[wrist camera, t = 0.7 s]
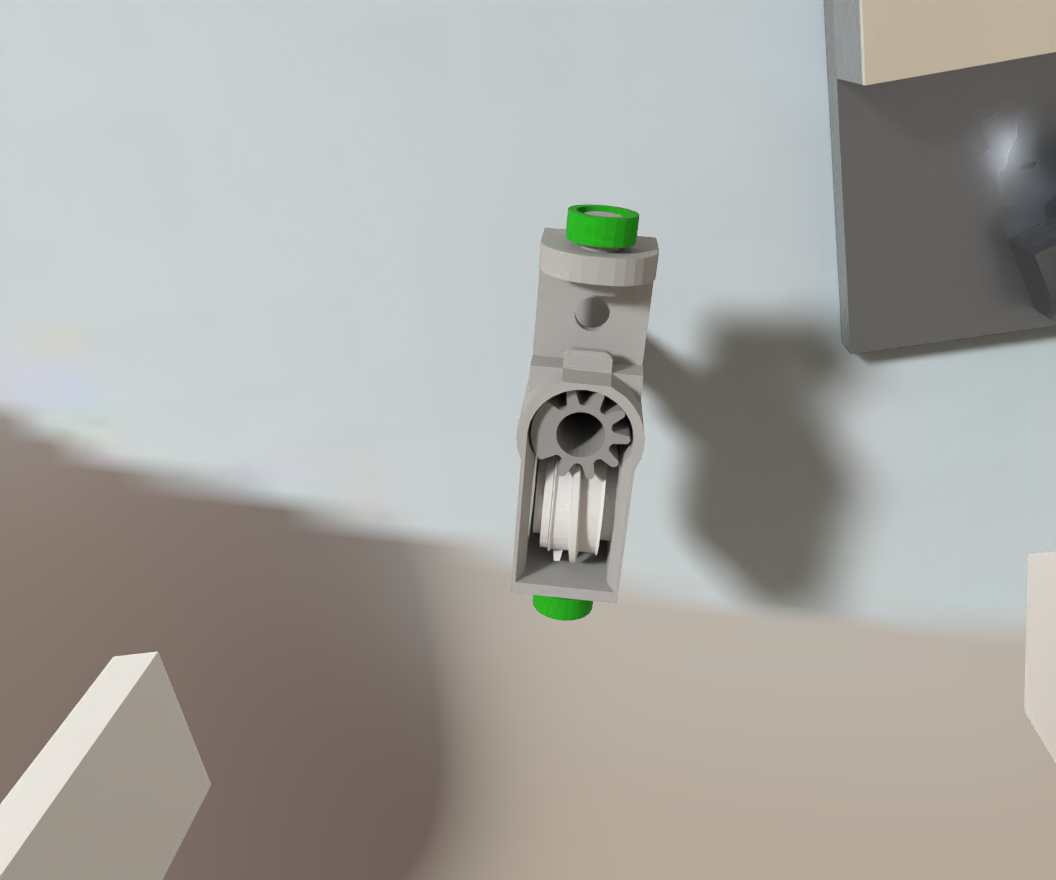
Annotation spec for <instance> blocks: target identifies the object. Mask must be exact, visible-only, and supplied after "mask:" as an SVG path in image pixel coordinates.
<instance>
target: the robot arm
mask: <svg viewBox="0 0 1056 880" xmlns="http://www.w3.org/2000/svg"><path fill="white" fill-rule="evenodd" d="M1024 711H1025V713H1026V715H1027V716H1028V718H1029V720H1030V721H1031V723H1032V725H1033V726H1034V728H1035V730H1036V731H1037V733H1038V735H1039V736H1040V738H1041V740H1042V741H1043V743H1044V745H1045V746H1046V748H1047V750H1048V751H1049V753H1050V755H1051V756H1052V758H1053V760H1054V762H1055V763H1056V551H1051V552H1042V553H1033V554H1028V580H1027V621H1026V662H1025V704H1024ZM210 786H211V783H210V781H209V778H208V776H207V773H206V771H205V768H204V766H203V763H202V761H201V758H200V756H199V753H198V751H197V748H196V746H195V743H194V741H193V738H192V736H191V733H190V731H189V728H188V726H187V723H186V721H185V718H184V716H183V713H182V711H181V708H180V706H179V703H178V701H177V698H176V696H175V693H174V691H173V688H172V686H171V683H170V681H169V678H168V675H167V673H166V671H165V668H164V666H163V663H162V660H161V658H160V656H159V653H158V652H151V653H143V654H133V655H125V656H115V657H113V658H112V659H111V661H110V662H109V663H108V665H107V666H106V667H105V669H104V670H103V671H102V672H101V674H100V675H99V676H98V678H97V679H96V680H95V682H94V683H93V685H92V686H91V687H90V688H89V690H88V691H87V692H86V694H85V695H84V696H83V697H82V699H81V700H80V701H79V703H78V704H77V705H76V706H75V708H74V709H73V710H72V712H71V713H70V714H69V716H68V717H67V718H66V719H65V721H64V722H63V723H62V725H61V726H60V727H59V729H58V730H57V731H56V732H55V734H54V735H53V736H52V738H51V739H50V740H49V742H48V743H47V744H46V745H45V747H44V748H43V749H42V751H41V752H40V753H39V755H38V756H37V757H36V759H35V760H34V761H33V763H32V764H31V765H30V766H29V768H28V769H27V770H26V772H25V773H24V774H23V775H22V777H21V778H20V779H19V781H18V782H17V783H16V785H15V786H14V787H13V788H12V790H11V791H10V792H9V794H8V795H7V796H6V798H5V799H4V800H3V802H2V803H1V804H0V880H163V878H164V875H165V874H166V871H167V869H168V868H169V866H170V864H171V862H172V860H173V858H174V856H175V854H176V852H177V850H178V848H179V846H180V844H181V843H182V840H183V838H184V837H185V835H186V833H187V831H188V829H189V827H190V825H191V823H192V821H193V819H194V817H195V815H196V813H197V811H198V809H199V807H200V805H201V804H202V801H203V800H204V798H205V796H206V794H207V792H208V790H209V788H210Z"/></svg>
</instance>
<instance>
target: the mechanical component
mask: <svg viewBox="0 0 1056 880" xmlns="http://www.w3.org/2000/svg"><path fill="white" fill-rule="evenodd" d="M638 221H639V214H638V213H637V212H635V211H632V210H629V209H625V208H620V207H614V206H605V205H575V206H571V207H569V208H568V216H567V227H566V230H564V229H553V228H545V229H544V233H543V236H542V239H541V249H540V262H539V269H540V274H539V286H538V298H537V311H536V323H535V336H534V348H533V357H532V361H531V367H530V376H529V380H528V384H527V388H526V393H525V397H524V402H523V406H522V410H521V415H520V419H519V423H518V430H517V446H518V451H519V454H520V457H521V469H520V482H519V494H518V507H517V520H516V532H515V545H514V557H513V570H512V583H511V592H513V593H522V594H533V605H534V607H535V608H536V610H537V611H539V612H540V613H541V614H543V615H545V616H547V617H550V618H553V619H557V620H576V619H580V618H583V617H585V616H586V615H588V614H589V613H590V611H591V609H592V604H593V601H598V602H608V603H617V598H618V590H619V583H620V575H621V568H622V560H623V552H624V545H625V537H626V530H627V522H628V515H629V507H630V499H631V492H632V484H633V477H634V470H635V469H636V467H637V465H638V463H639V462H640V459H641V456H642V453H643V450H644V440H645V437H644V426H643V415H642V404H641V391H642V384H643V366H642V365H643V357H644V350H645V342H646V334H647V327H648V319H649V311H650V303H651V296H652V288H653V281H654V280H655V277H656V269H657V262H658V254H659V249H658V244H657V240H656V238H653V237H642V236H637V230H638Z"/></svg>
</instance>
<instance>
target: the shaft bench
mask: <svg viewBox="0 0 1056 880" xmlns="http://www.w3.org/2000/svg"><path fill="white" fill-rule="evenodd" d="M824 15H825V34H826V53H827V72H828V90H829V109H830V128H831V147H832V165H833V184H834V203H835V222H836V240H837V259H838V278H839V297H840V315H841V334H842V343H843V345H844V346H845V347H846V349H847V350H848V352H849V353H850V354H856V353H863V352H870V351H877V350H885V349H892V348H899V347H906V346H913V345H921V344H928V343H935V342H942V341H949V340H957V339H964V338H971V337H978V336H985V335H993V334H1000V333H1007V332H1014V331H1021V330H1029V329H1036V328H1043V327H1050V326H1056V0H824Z"/></svg>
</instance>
